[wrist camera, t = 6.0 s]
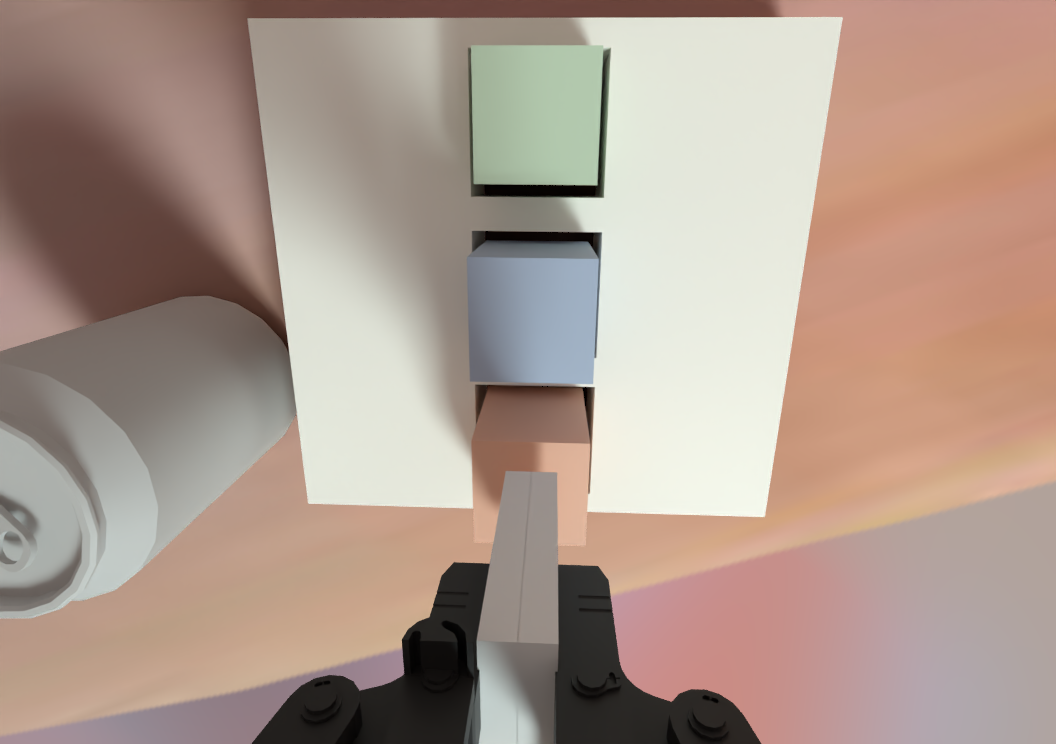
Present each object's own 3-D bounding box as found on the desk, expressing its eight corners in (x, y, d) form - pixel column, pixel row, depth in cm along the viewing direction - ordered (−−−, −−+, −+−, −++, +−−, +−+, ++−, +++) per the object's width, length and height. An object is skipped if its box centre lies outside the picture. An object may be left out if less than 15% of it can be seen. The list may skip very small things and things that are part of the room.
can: (198, 254, 24) (-119, 317, 13) (340, 370, 25) (169, 521, 14) (111, 377, 26) (-232, 528, 15) (247, 480, 27) (31, 690, 16)
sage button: (490, 184, 22) (473, 184, 17) (490, 77, 20) (471, 45, 16) (587, 185, 21) (597, 185, 17) (591, 78, 20) (603, 45, 16)
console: (342, 458, 27) (308, 503, 23) (301, 47, 22) (247, 18, 18) (733, 468, 26) (764, 516, 22) (789, 47, 21) (842, 17, 17)
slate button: (488, 338, 22) (469, 381, 17) (486, 240, 20) (466, 257, 16) (584, 339, 21) (593, 384, 17) (588, 241, 20) (598, 258, 16)
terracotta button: (490, 469, 23) (473, 542, 19) (488, 385, 22) (471, 440, 17) (578, 471, 23) (585, 546, 18) (582, 387, 22) (590, 443, 17)
